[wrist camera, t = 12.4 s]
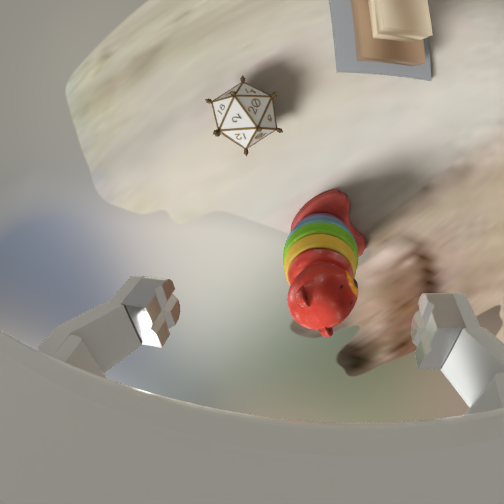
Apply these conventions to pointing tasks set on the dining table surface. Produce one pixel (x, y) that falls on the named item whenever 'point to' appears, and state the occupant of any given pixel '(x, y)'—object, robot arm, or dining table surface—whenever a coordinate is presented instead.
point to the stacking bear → (322, 262)
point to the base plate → (348, 55)
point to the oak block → (400, 20)
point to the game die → (244, 115)
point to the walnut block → (381, 41)
